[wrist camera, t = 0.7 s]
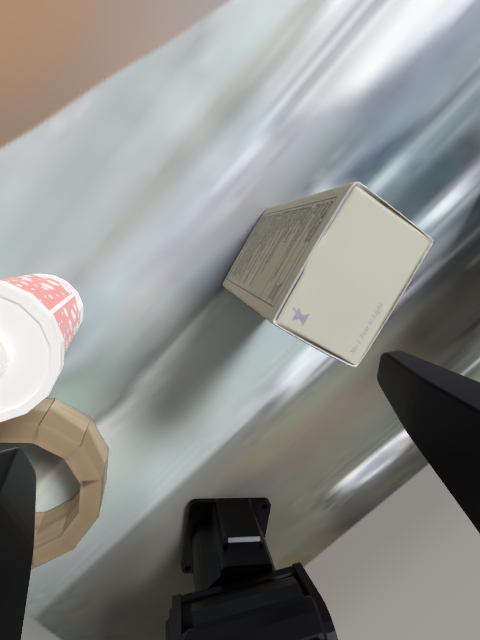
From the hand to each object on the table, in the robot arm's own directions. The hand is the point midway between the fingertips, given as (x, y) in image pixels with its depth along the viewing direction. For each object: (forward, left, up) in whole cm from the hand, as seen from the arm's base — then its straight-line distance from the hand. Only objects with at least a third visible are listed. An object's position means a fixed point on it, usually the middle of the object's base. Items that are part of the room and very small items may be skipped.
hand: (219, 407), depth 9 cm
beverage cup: (-2, +8, -17) cm, 19 cm away
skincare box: (+3, -6, -17) cm, 18 cm away
